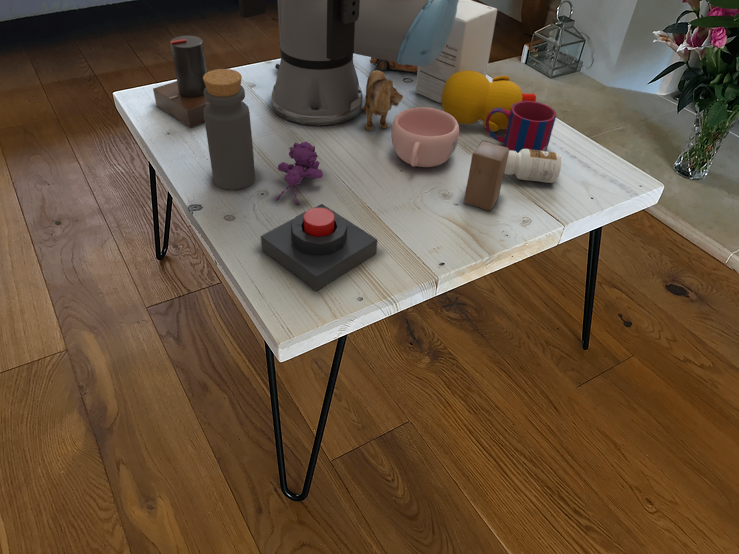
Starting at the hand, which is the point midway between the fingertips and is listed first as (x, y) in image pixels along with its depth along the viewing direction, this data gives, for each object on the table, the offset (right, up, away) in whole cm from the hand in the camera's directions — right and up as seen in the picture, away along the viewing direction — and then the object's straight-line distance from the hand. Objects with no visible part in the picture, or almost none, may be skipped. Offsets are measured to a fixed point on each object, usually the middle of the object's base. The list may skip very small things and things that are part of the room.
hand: (294, 34), depth 60 cm
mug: (+15, -6, +32) cm, 36 cm away
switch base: (+1, -21, +15) cm, 26 cm away
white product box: (+22, +9, +49) cm, 54 cm away
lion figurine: (+9, +2, +41) cm, 42 cm away
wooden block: (+23, -13, +25) cm, 36 cm away
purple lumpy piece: (-3, -11, +25) cm, 28 cm away
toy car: (+14, +16, +57) cm, 61 cm away
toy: (+34, +3, +38) cm, 51 cm away
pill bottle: (+35, -8, +28) cm, 45 cm away
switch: (+1, -18, +13) cm, 22 cm away
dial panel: (-21, +4, +41) cm, 46 cm away
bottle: (-12, -10, +26) cm, 30 cm away
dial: (-21, +6, +39) cm, 44 cm away
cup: (+30, -4, +36) cm, 47 cm away
